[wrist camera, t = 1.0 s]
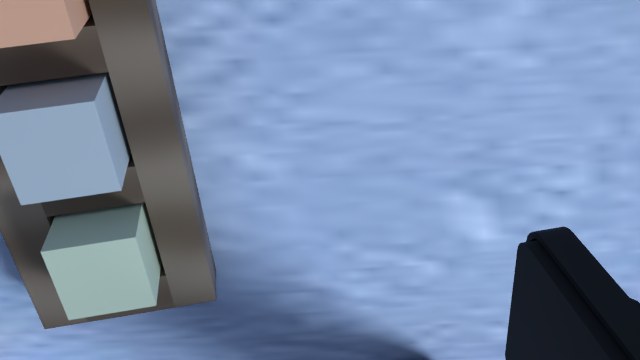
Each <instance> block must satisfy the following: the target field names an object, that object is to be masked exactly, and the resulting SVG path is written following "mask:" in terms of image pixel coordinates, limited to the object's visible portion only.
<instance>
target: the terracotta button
mask: <svg viewBox="0 0 640 360" xmlns="http://www.w3.org/2000/svg"><path fill="white" fill-rule="evenodd" d="M91 14H92V11H91V8H90V4H89V1H88V0H0V48H6V47H14V46H22V45H30V44H38V43H46V42H54V41H62V40H70V39H76V37H77V36H78V34H79V32H80V31H81V29H82V28H83V26H84V25H85V23H86V22H87V20H88V19H89V17H90V16H91Z"/></svg>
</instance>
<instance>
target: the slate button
mask: <svg viewBox="0 0 640 360" xmlns="http://www.w3.org/2000/svg"><path fill="white" fill-rule="evenodd" d="M130 155H131V150H130V146H129V143H128V139H127V136H126V132H125V128H124V125H123V121H122V118H121V114H120V111H119V107H118V104H117V100H116V97H115V93H114V89H113V86H112V82H111V79H110V75H109V72H105V73H97V74H89V75H81V76H74V77H66V78H58V79H50V80H43V81H35V82H27V83H20V84H12V85H8V86H7V88H6V89H5V90H4V91H3V93H2V94H1V95H0V156H1V158H2V161H3V163H4V165H5V168H6V170H7V173H8V175H9V178H10V180H11V182H12V185H13V187H14V190H15V192H16V194H17V197H18V199H19V202H20V204H21V205H27V204H34V203H41V202H48V201H54V200H61V199H68V198H75V197H82V196H88V195H95V194H102V193H109V192H115V191H121V190H122V186H123V182H124V178H125V174H126V170H127V166H128V162H129V159H130Z"/></svg>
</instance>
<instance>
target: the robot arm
mask: <svg viewBox="0 0 640 360" xmlns="http://www.w3.org/2000/svg"><path fill="white" fill-rule="evenodd" d="M505 357H506V360H640V303H639V302H638V301H636V300H634V299H631V298H629V297H628V296H627V294H626V293H625V292H624V291H623V290H622V289H621V287H620V286H619V285H618V284H617V283H616V282H615V281H614V279H613V278H612V277H611V276H610V275H609V274H608V272H607V271H606V270H605V269H604V268H603V267H602V266H601V264H600V263H599V262H598V261H597V260H596V259H595V257H594V256H593V255H592V254H591V253H590V252H589V251H588V249H587V248H586V247H585V246H584V245H583V244H582V242H581V241H580V240H579V239H578V238H577V237H576V235H575V234H574V233H573V232H572V231H571V230H570V229H569V228H566V227H559V228H553V229H547V230H541V231H535V232H531V233H530V234H529V235H528V236H527V241H526V242H524V243H520V244H519V246H518V250H517V258H516V266H515V275H514V283H513V292H512V300H511V309H510V317H509V326H508V334H507V343H506V351H505Z"/></svg>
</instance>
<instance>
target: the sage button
mask: <svg viewBox="0 0 640 360" xmlns="http://www.w3.org/2000/svg"><path fill="white" fill-rule="evenodd" d="M41 255H42V257H43V259H44V262H45V264H46V267H47V269H48V272H49V274H50V276H51V279H52V281H53V284H54V286H55V288H56V291H57V293H58V296H59V298H60V300H61V303H62V305H63V308H64V310H65V312H66V315H67V317H68V320H73V319H79V318H85V317H91V316H97V315H104V314H110V313H116V312H122V311H128V310H134V309H140V308H146V307H152V306H156V304H157V295H158V287H159V279H160V270H161V262H162V260H161V256H160V253H159V249H158V246H157V242H156V238H155V235H154V231H153V228H152V224H151V221H150V217H149V214H148V210H147V207H146V203H145V202H143V203H136V204H129V205H122V206H116V207H109V208H102V209H96V210H89V211H82V212H76V213H69V214H62V215H56V216H55V218H54V220H53V223H52V225H51V227H50V230H49V232H48V235H47V237H46V240H45V242H44V245H43V247H42V249H41Z"/></svg>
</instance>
